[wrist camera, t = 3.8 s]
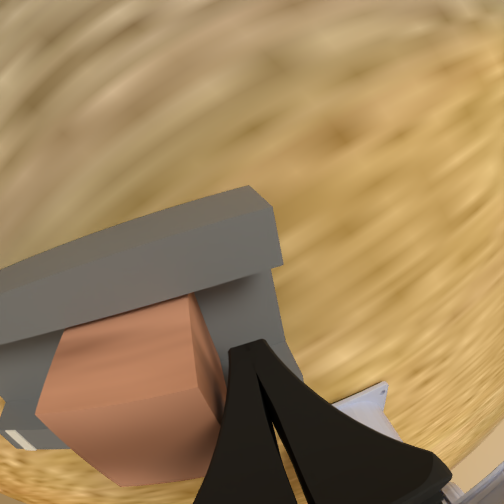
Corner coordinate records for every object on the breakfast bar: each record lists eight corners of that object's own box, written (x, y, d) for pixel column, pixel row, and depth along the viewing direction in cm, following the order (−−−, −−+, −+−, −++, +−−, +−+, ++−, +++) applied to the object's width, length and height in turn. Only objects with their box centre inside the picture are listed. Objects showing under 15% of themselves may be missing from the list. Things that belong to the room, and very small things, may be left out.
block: (219, 358, 14) (246, 467, 9) (125, 381, 13) (120, 486, 8) (185, 269, 12) (198, 386, 6) (76, 302, 11) (34, 414, 6)
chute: (286, 357, 16) (307, 401, 13) (26, 412, 14) (16, 449, 11) (248, 185, 12) (273, 207, 9) (-57, 296, 10) (-85, 329, 7)
